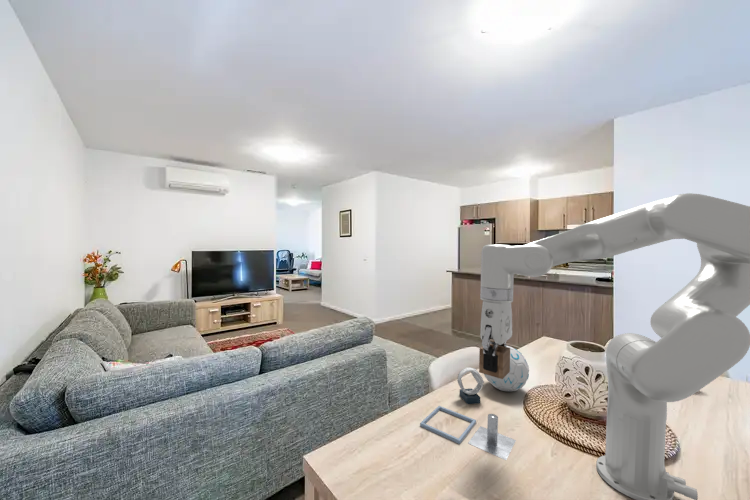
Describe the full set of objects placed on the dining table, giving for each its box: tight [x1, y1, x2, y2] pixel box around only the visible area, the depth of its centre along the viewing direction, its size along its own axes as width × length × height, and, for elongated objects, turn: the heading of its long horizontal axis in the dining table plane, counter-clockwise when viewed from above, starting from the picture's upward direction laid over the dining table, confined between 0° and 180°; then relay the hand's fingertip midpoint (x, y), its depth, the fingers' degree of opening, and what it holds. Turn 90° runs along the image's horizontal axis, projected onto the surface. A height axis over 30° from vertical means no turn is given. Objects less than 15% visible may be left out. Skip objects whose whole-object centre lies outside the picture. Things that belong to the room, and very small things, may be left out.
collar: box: [478, 344, 510, 379], centre depth 74 cm, size 6×6×6 cm
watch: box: [456, 366, 485, 405], centre depth 95 cm, size 6×8×11 cm
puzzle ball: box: [483, 345, 530, 392], centre depth 104 cm, size 15×15×15 cm
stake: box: [467, 413, 517, 461], centre depth 74 cm, size 9×9×8 cm
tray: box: [419, 405, 477, 445], centre depth 81 cm, size 11×11×2 cm
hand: (494, 365), depth 74 cm, fingers closed on collar, 5 cm apart
